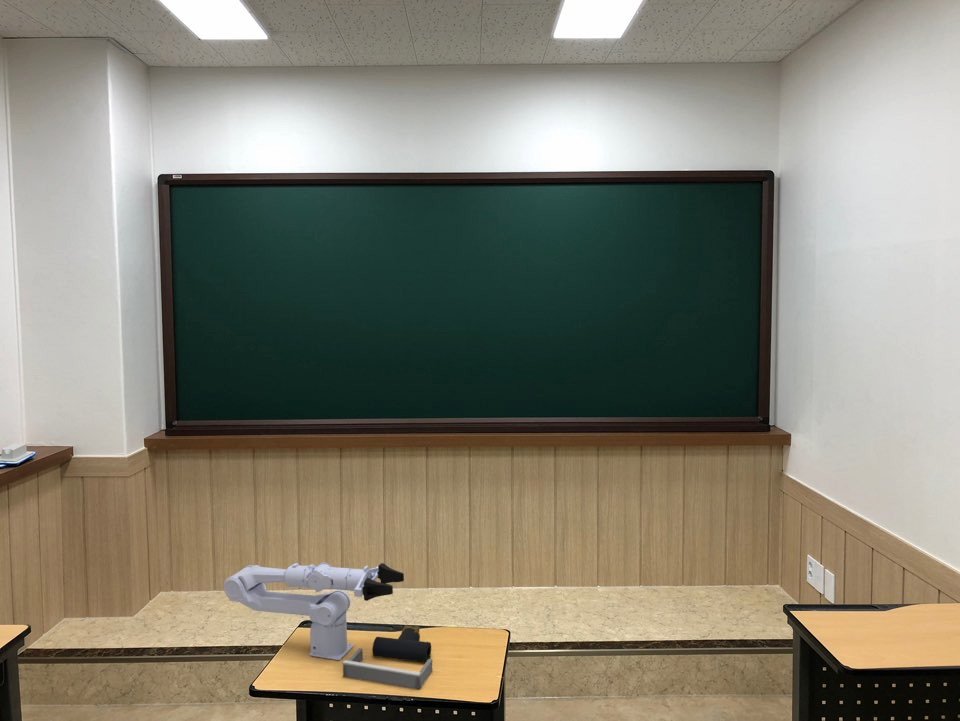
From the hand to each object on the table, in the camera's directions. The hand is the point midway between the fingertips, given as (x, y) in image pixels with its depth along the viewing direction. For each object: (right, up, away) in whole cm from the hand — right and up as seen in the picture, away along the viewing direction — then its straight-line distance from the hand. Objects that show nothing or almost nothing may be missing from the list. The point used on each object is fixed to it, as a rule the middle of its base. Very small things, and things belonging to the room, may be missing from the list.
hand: (397, 583), depth 177 cm
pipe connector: (+1, -21, +7) cm, 23 cm away
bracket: (-2, -22, -4) cm, 22 cm away
